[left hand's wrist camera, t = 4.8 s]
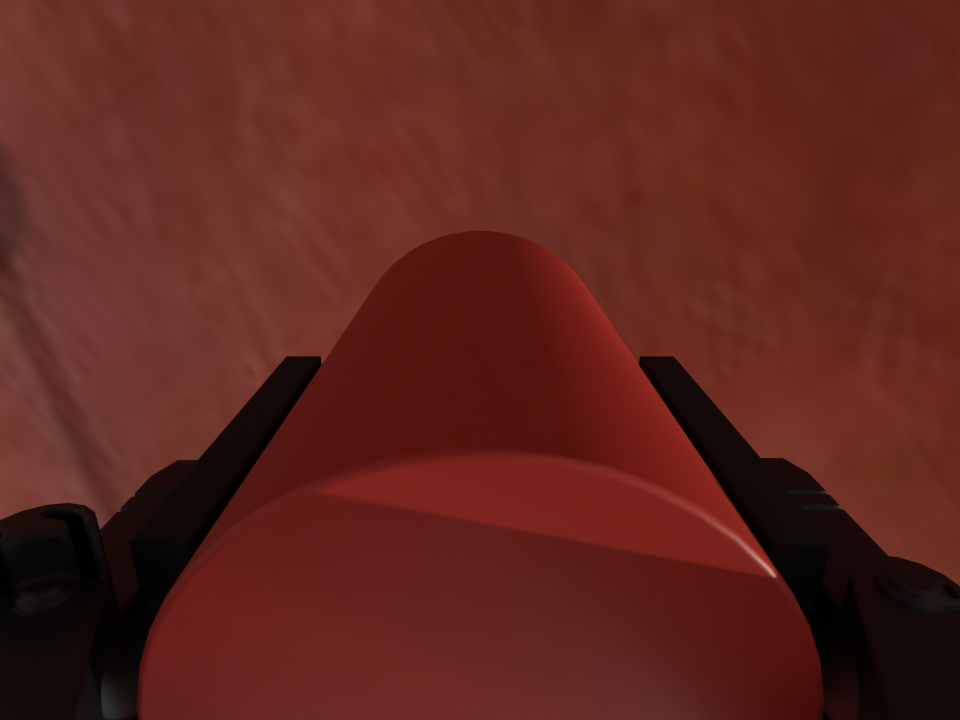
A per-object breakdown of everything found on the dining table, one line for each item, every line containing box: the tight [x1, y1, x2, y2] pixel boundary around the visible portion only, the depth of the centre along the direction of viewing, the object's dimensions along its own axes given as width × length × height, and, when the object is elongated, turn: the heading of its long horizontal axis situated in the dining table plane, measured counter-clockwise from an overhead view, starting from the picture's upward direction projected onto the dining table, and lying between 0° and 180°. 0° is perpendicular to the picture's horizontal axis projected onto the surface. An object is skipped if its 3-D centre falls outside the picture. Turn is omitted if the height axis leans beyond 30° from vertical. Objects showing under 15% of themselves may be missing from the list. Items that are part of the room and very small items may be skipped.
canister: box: [136, 231, 824, 720], centre depth 12 cm, size 7×7×12 cm
